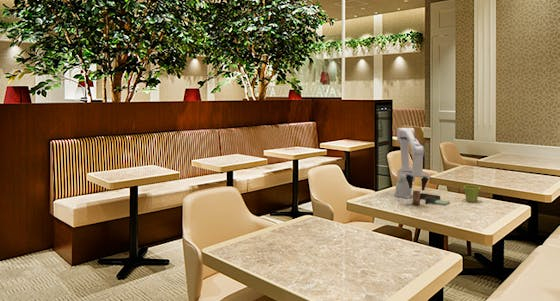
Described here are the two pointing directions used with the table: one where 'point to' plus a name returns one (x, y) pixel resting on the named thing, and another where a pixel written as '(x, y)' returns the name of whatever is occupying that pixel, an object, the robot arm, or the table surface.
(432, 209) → the table surface
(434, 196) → the walled course
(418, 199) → the peg
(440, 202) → the end pad
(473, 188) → the plant pot
